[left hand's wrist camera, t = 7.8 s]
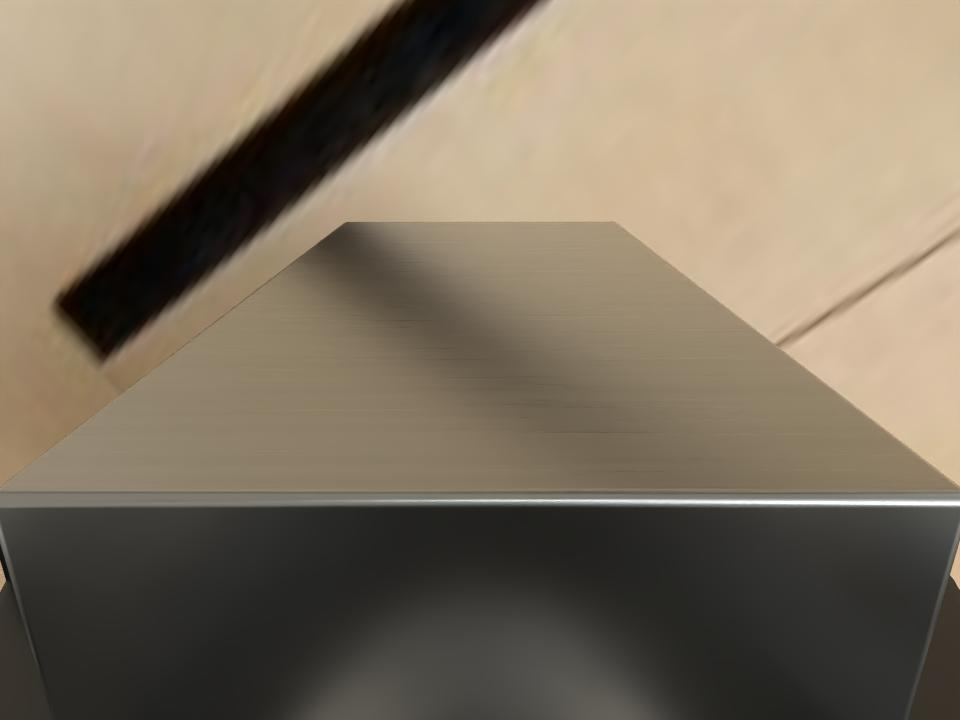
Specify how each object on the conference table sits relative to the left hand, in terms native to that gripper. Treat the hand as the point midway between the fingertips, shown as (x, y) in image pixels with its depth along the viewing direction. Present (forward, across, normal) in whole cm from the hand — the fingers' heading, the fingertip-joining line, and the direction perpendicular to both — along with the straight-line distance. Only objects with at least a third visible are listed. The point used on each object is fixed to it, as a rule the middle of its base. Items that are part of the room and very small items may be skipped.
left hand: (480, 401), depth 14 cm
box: (+2, 0, -7) cm, 7 cm away
